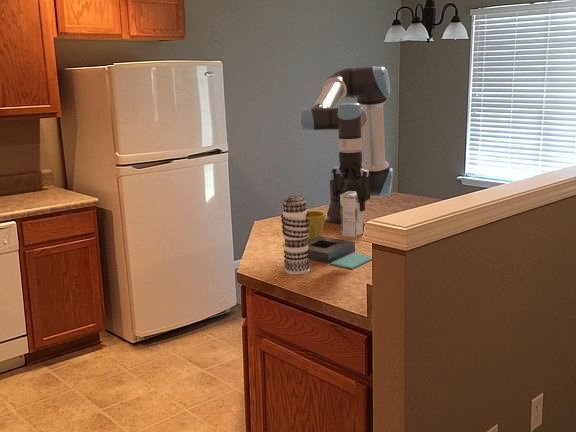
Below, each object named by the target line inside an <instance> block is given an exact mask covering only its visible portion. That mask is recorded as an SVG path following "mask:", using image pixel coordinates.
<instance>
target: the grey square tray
mask: <svg viewBox="0 0 576 432" xmlns="http://www.w3.org/2000/svg"><path fill="white" fill-rule="evenodd" d="M307 243H308V249H309V250H310V251H309V255H310V256H309V257H308V258H309V259H310V261H315V262H319V263H320V262H321V263H324V264H325V263H326V264H330V263H332V262H334V261H336V260H338V259H341V258H343V257H345V256H347V255H350V254H352V253H356V242H355V241H351V240H345V239H340V238H339V239H338V238H333V237H328V236H322V235H321V236H318V237H315V238H313V239H310V240H307Z"/></svg>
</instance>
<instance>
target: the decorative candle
mask: <svg viewBox="0 0 576 432" xmlns="http://www.w3.org/2000/svg"><path fill="white" fill-rule="evenodd" d="M307 200H308V199H305V198H304V196H302V195H300V194H299V195H298V194H296V195H295V194H293V195H287V196H286V197H285V198H284V200H282V201H281V203H282V208H283V209H282V213H281V214H280V219H281V221H280V222H281V223H282V225H281V229H282V234H283V237H282V238H283V239H284V250H283V253H284V255H283V257H284V261H283V263H284V265H283V266H284V272H285V273H286V274H289V275H301V274H306V273H309V272H310V271H311V269H310V266H311V264H310V263H311V260H310V259H309V258H308V257H309V256H310V255H309V251H310V250H309V249H308V243H307V237H308V236H309V235H308V232H309V230H307V229H306V227H308V226H309V224H307V222H309V219H306V216H309V214H308V213H307V211H308V210H307V204H306V203H307Z"/></svg>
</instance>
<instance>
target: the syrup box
mask: <svg viewBox="0 0 576 432" xmlns="http://www.w3.org/2000/svg"><path fill="white" fill-rule="evenodd" d="M358 201H359V200H358V196H357V193H356V191H348V192H345V193H343V194H340V214H341V223H340V235H341V236H342V237H347V238H349V237H350V238H357V237H358V236H360V235H363V234H364V220H362V221H359V222H358V221H357V202H358Z"/></svg>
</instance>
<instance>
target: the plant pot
mask: <svg viewBox="0 0 576 432" xmlns="http://www.w3.org/2000/svg"><path fill="white" fill-rule="evenodd" d="M307 213H308V214H309V216H306V219H309V222H307V224H309V226H308V227H306V229H307V230H309V232H308V235H309V236H308V237H307V240H310V239H313V238H315V237H318V236H322V234H323V229H324V224H325V222H326V213H325V212H324V211H320V210H307Z"/></svg>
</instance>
